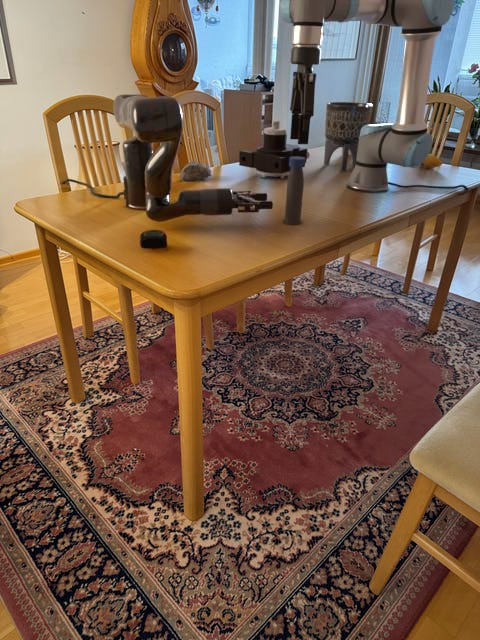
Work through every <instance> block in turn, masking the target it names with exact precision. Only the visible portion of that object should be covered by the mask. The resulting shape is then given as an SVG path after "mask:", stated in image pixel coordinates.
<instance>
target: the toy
mask: <svg viewBox="0 0 480 640" xmlns="http://www.w3.org/2000/svg"><path fill="white" fill-rule="evenodd" d="M442 165H443V161H442V160H440V159H438V157H437V156H436V155H434V154H430V153H429V155H428V157H427V158H426V159H425V161H424V162H423V163H422V164H421V165H420V166H421V167H425V168H426V169H428V170H430V169H435V168H438V167H441V166H442Z"/></svg>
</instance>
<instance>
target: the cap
mask: <svg viewBox="0 0 480 640" xmlns="http://www.w3.org/2000/svg"><path fill="white" fill-rule="evenodd" d="M289 166H290V167H293V168H302V169H303V168H305V167H306V163H305V158H304V157H299V156H293V157H290V159H289Z"/></svg>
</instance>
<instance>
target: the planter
mask: <svg viewBox="0 0 480 640" xmlns="http://www.w3.org/2000/svg"><path fill="white" fill-rule="evenodd" d="M373 107H374V106H373V104H372V103H367V102H353V101H333V102H327V103H326V109H325V124H324V125H325V126H324V139H325V144H324V156H323V157H324V158H323V165H325V166H328V165H330V163H331V158H332V156H333V154H334V153H335V151H336V150H337V149H340V148H341V152H342V153H341V166H340V170H341V172H345V171H347V167H348V166H347V165H348V159H349V153H348V152H349V150H350V151H351V153H352V154H351V157H352V158H351V159H352V160H351V161H352V166H353V167H355V165H356V158H357V151H358V143H359V136H360V132H361V128H362V127H363V126H365V125H370V121H371V116H372V112H373Z"/></svg>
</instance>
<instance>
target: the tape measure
mask: <svg viewBox="0 0 480 640" xmlns="http://www.w3.org/2000/svg"><path fill="white" fill-rule="evenodd" d="M167 236H168V235H167V234H166V232H165V231H164V230H161V229H147V230H144V231H143V232H141V233H140V235H139V240H140V241H139V245H140V246H139V247H141V248H142V249H146V250H157V249H167V248H168V240H167V239H168V237H167Z"/></svg>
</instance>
